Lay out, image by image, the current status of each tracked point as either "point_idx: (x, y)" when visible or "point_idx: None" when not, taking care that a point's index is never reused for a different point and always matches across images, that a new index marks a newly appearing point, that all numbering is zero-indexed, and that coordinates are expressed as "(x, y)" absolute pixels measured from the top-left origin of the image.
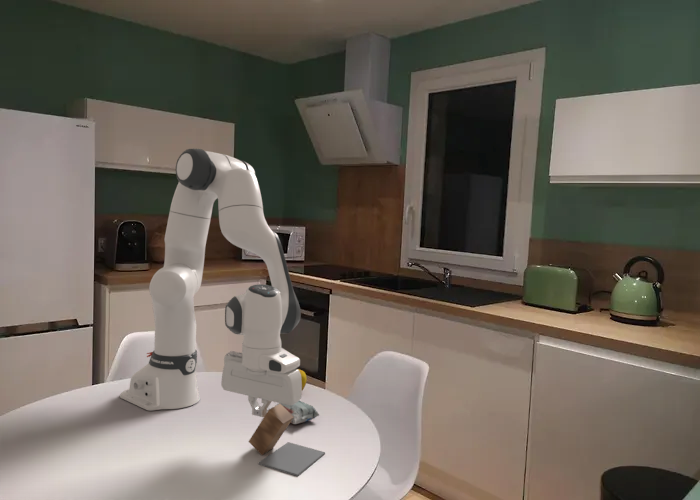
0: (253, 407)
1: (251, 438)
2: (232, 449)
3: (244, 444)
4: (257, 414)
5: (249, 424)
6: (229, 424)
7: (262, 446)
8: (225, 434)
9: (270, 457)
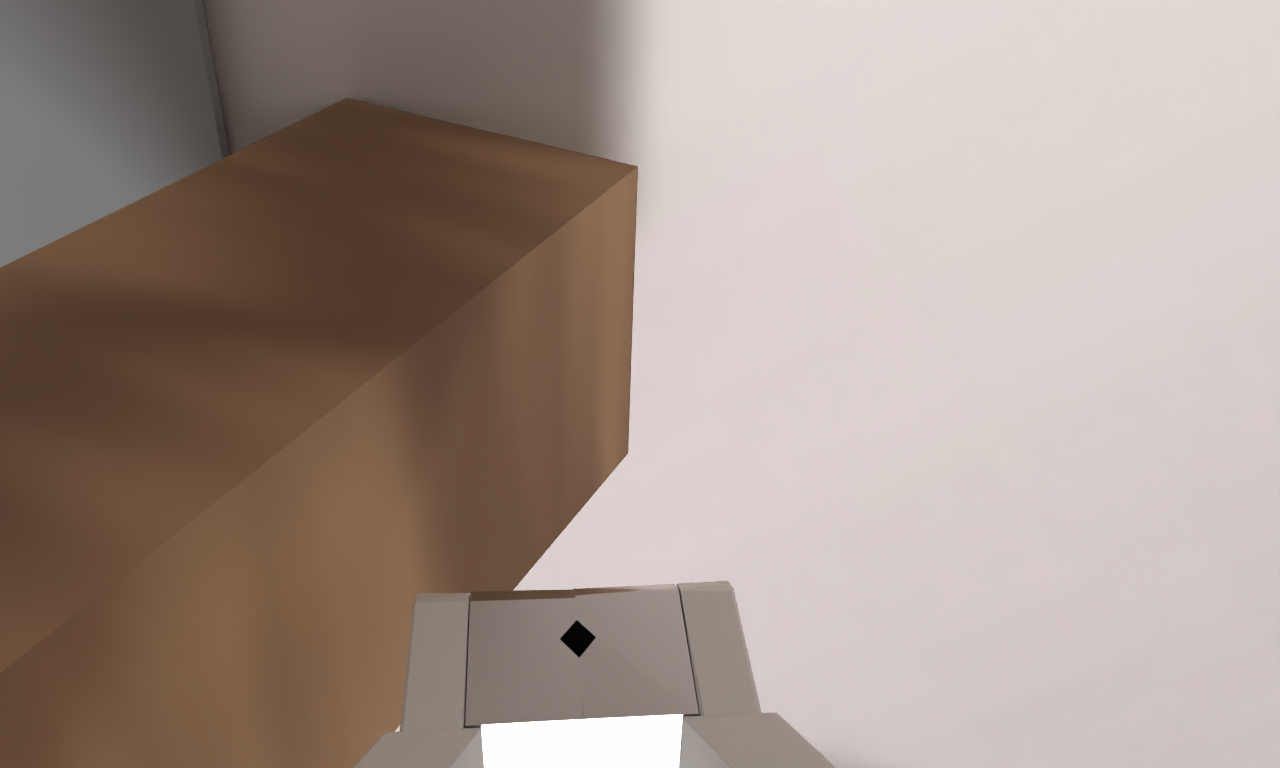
0: (717, 728)
1: (579, 200)
2: (884, 24)
3: (804, 252)
4: (568, 610)
5: (1030, 677)
6: (1268, 572)
7: (322, 159)
8: (1206, 350)
9: (136, 73)
